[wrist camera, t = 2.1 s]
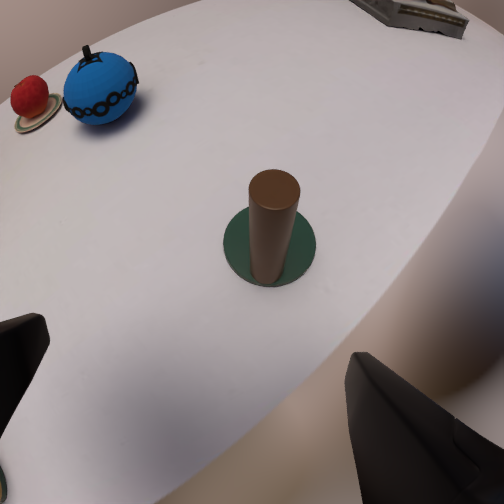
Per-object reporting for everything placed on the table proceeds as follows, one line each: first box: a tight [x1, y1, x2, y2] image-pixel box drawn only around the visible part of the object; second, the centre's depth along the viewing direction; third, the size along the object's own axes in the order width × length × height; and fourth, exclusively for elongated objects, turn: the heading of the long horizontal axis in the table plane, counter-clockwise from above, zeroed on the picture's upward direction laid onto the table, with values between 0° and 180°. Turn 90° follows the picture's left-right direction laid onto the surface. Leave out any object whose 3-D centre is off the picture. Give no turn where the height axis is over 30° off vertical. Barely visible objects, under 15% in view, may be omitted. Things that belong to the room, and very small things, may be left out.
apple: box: [11, 75, 62, 133], centre depth 31 cm, size 8×8×6 cm
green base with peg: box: [223, 169, 316, 287], centre depth 20 cm, size 7×7×10 cm
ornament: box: [63, 45, 139, 125], centre depth 27 cm, size 9×9×10 cm
